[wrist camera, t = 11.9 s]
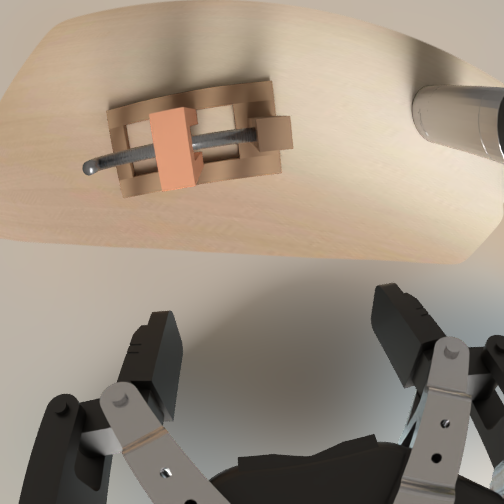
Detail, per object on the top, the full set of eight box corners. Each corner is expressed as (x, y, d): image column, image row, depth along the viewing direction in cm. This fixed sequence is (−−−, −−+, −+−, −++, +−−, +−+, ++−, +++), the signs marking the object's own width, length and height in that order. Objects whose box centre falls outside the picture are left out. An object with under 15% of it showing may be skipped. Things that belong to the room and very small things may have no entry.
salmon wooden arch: (170, 113, 32) (148, 113, 22) (195, 109, 32) (183, 106, 22) (179, 169, 35) (162, 191, 25) (203, 165, 35) (195, 186, 25)
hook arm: (254, 126, 27) (257, 128, 25) (255, 140, 28) (258, 143, 25) (93, 158, 27) (81, 162, 24) (95, 170, 27) (84, 176, 25)
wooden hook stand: (270, 81, 33) (290, 67, 22) (280, 171, 39) (302, 195, 28) (109, 111, 33) (65, 113, 22) (125, 195, 38) (91, 229, 27)
